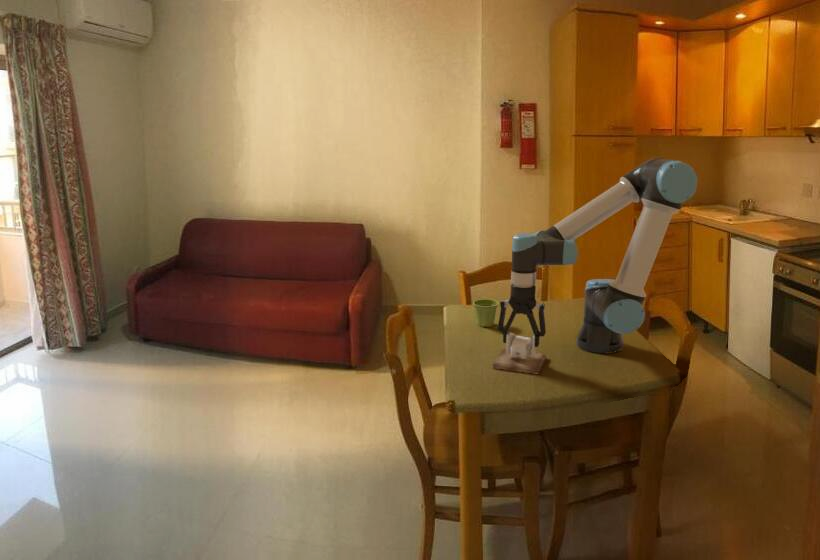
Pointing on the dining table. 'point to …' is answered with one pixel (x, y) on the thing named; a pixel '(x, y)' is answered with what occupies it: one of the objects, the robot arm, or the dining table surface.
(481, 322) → the plant pot
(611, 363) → the dining table surface
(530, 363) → the folded cloth
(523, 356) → the elephant figurine
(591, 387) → the dining table surface
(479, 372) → the dining table surface
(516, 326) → the dining table surface
